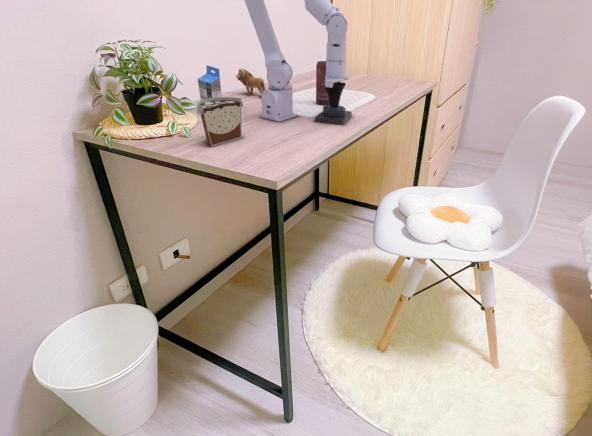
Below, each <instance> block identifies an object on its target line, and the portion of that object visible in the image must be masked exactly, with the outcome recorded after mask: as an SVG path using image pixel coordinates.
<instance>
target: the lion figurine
mask: <svg viewBox="0 0 592 436" xmlns="http://www.w3.org/2000/svg"><path fill="white" fill-rule="evenodd" d="M235 78H236V79H237V81H239V82H240V83H241V84H242V85H243V86H244V87H245V89H246V92H245V95H246V96H249V95H250V94H254V89H257V91H258V92H259V93H260V95H262V93H263V92H264V91H265V90H267V89H266V85H265V81H264V79H263V78H262V77H254V75H253V74H252V73H251V72H249V70H247V69H246V68H245V69H244V68H239V69H238V72H237V74H236V75H235Z"/></svg>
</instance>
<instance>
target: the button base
mask: <svg viewBox="0 0 592 436" xmlns="http://www.w3.org/2000/svg"><path fill="white" fill-rule="evenodd" d="M328 106H330V105H323V107H322V111H320V112H319V113H318V114H317V115H315V116H314V122H315V123H321V124H330V125H338V126H344V125H345V124H346V123H347V122H348V121H349V119H350V118H351V117H352V114H353V113H352V111H349V110H346V107H345V106H342V105H340V104H339V105H338V106H339V107H340V108H341V109H339V110H331V109H328Z"/></svg>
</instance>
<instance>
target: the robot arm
mask: <svg viewBox="0 0 592 436" xmlns="http://www.w3.org/2000/svg"><path fill="white" fill-rule="evenodd" d="M303 1H304V9H305V10H306V11H307V12H308V13H309V14H310V15H311V16H312V17H313V18H314V19H315V20H316V21H317V22H318V23H319V24H320V25H321V26H324V27H325V29H326V32H327V42H326V52H325V53H326V57H325V61H326V76H325V79H326V80H325V85H324V86H325V89H326V91H327V93H328V97H329V102H330V107H331V108H338V105H339V106H340V102H341V101H340V100H341V97H342V93H343V91H344V89H345V87H346V82H344V81H349V79H350V77H349V76H346V66H347V65H346V64H347V32H348V28H349V26H348V25H349V23H348V19H347V18H346V16H345V15H344V14H343V13H342V12H340V8H339V7H338V6H334V5H333V3H332V2H331V1H330V0H303ZM244 3H245V6H246V8H247V12H248V15H249V16H250V19H251V23H252V25H253V28H254V31H255V33H256V36H257V39H258V42H259V44H260V47H261V50H262V52H263V55H264V64H265V68H266V80H267V83H268V85H267V89H266V90H264V92H263V93H262V94H261V96H260V100H261V101H260V102H261V115H260V118H264V119H267V120H270V121H275V122H283V121H287V120H290V119H293V118H296V117H299V113H295V112H294V107H293V106H294V105H293V103H294V102H293V84H292V83H291V79H292V78H293V74H294V73H293V68H292V66H291V65H290V63H288V61H287V59H286V57H285V55H284V53H283V52H282V50H281V47H280V44H279V42H278V41H279V40H278V39H277V38H278V37H277V35H276V33H275V30H274V27H273V24H272V21H271V18H270V15H269V11H268V9H267V6H266V3H265V0H244Z"/></svg>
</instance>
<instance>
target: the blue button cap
mask: <svg viewBox="0 0 592 436" xmlns="http://www.w3.org/2000/svg"><path fill="white" fill-rule="evenodd" d="M339 106H340V105H339ZM339 106H338V108H331V107H330V106H328V109H331V110H339V109H341V108H340V107H339Z"/></svg>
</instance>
